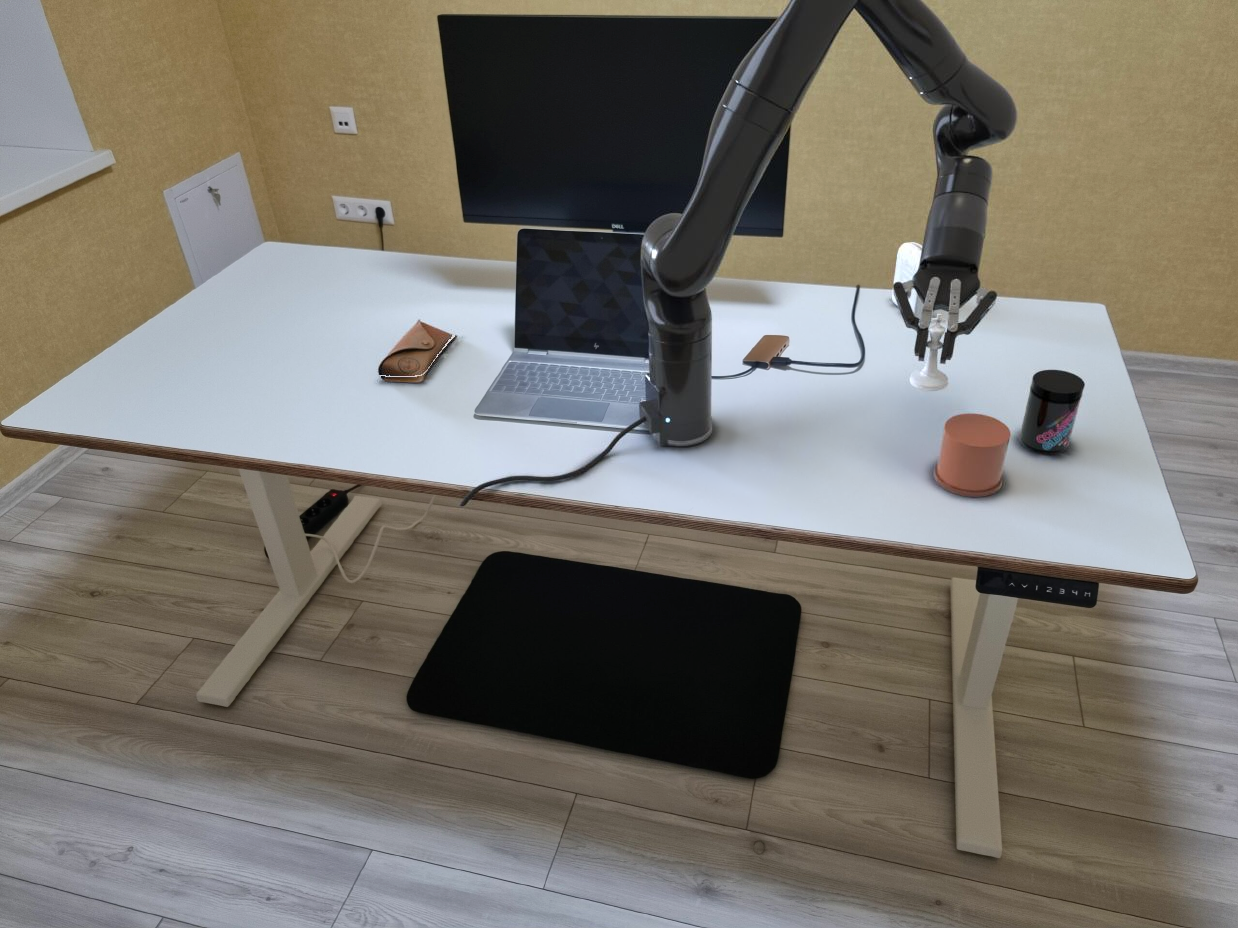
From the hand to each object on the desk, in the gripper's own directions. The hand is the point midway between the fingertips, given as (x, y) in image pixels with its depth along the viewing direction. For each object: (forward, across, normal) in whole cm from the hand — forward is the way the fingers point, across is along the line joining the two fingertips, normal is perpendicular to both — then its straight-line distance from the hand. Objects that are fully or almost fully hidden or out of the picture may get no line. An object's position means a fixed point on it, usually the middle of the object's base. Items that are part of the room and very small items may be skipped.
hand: (932, 360), depth 120 cm
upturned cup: (+12, +7, +13) cm, 19 cm away
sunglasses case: (+5, -87, +20) cm, 90 cm away
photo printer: (-24, -7, +50) cm, 56 cm away
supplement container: (+4, +17, +22) cm, 28 cm away
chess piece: (+2, 0, +5) cm, 5 cm away
